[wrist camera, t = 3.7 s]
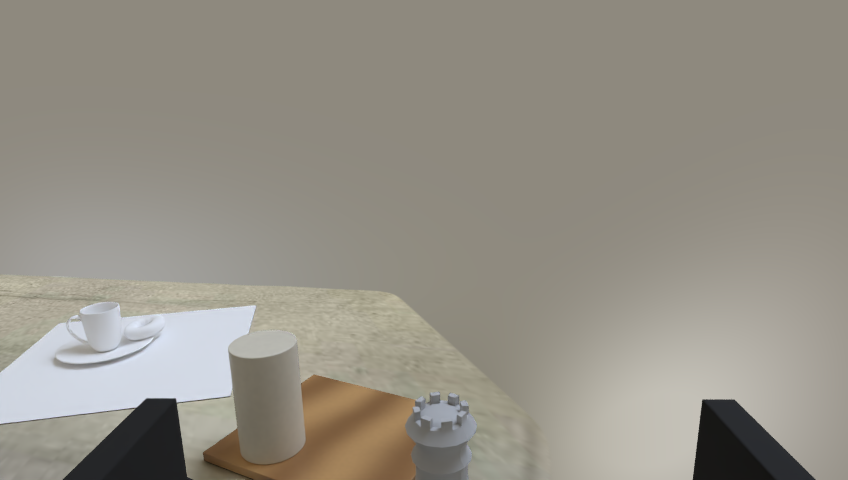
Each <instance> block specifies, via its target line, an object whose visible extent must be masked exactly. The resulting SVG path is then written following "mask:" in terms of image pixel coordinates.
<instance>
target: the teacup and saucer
mask: <svg viewBox="0 0 848 480" xmlns="http://www.w3.org/2000/svg"><path fill="white" fill-rule="evenodd" d="M72 319H78V320H80V322H81V324H82V328H83V331H84V334H82V335H79V336H78V335H77V334H75V333H74V332H73V330H72V329H71V327H70V321H71V320H72ZM165 326H166V319H165V317H164V316H163V315H161V314H155V315H144V316H140V317H138V318H136V319H134V320H132V321H131V322H129V323H128V324H127V325H123V326H122V318H121V316H120V307H119V304H118V303H116V302H102V303H96V304H92V305H89V306H86V307H84V308H82V309H81V310H80V315H74V316H72V317H70V318H69V319H68V321H67V322H66V323H65V328H66V330H67V331H68V333H69V334H70V335H71V336H72V337H73V339H70V340H69V341H67V342H65V343H64V344H62V345H61V346H60V347H59V348H58V349H57V350H56V351H55V353H54V357H55V359H56V360H57V361H59V362H61V363H64V364H69V365H88V364H96V363H102V362H107V361H111V360H115V359H119V358H122V357H125V356H128V355H130V354H133V353H135V352H137V351H139V350H141V349H143V348H144V347H146V346H147V345H149V344H150V343H151V342H152V341H153V339H154V338H155V335H157V334H159V333H160V332H161V331H162V330H163V329H164V328H165Z"/></svg>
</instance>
